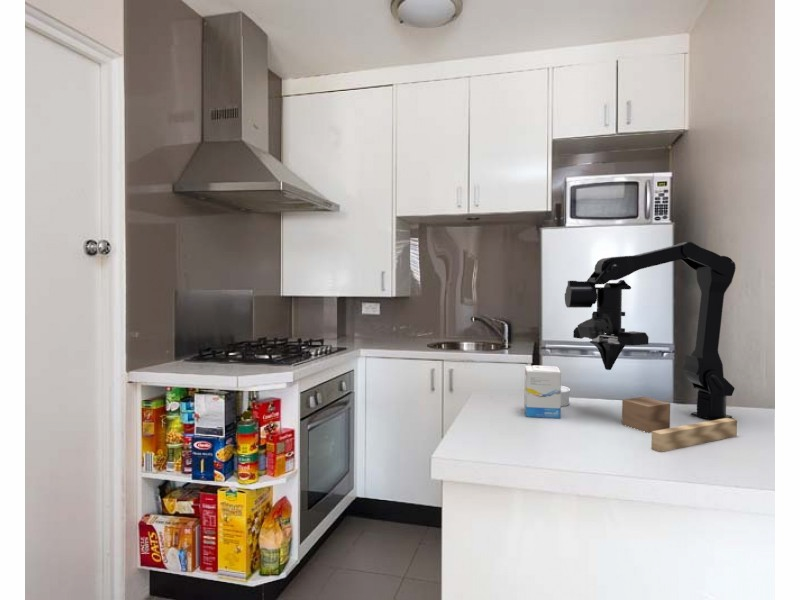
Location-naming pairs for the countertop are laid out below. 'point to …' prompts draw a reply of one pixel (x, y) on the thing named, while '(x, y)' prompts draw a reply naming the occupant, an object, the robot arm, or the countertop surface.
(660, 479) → the countertop surface
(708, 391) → the robot arm
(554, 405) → the ink box
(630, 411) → the walnut block
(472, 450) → the countertop surface
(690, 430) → the oak plank
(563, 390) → the ramekin
